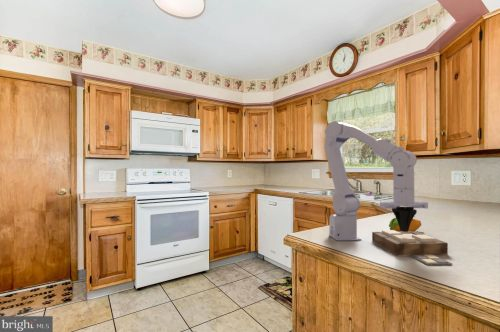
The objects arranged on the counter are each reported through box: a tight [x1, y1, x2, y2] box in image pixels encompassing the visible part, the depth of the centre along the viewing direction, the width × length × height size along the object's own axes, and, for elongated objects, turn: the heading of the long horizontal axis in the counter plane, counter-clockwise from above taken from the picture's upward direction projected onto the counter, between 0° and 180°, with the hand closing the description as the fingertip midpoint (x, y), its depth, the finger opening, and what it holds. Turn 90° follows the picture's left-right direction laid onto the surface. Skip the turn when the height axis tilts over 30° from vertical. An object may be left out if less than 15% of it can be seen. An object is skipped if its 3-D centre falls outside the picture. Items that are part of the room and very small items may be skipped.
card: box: [409, 255, 453, 267], centre depth 72 cm, size 7×7×1 cm
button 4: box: [412, 234, 436, 242], centre depth 81 cm, size 4×4×2 cm
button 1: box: [381, 229, 402, 237], centre depth 87 cm, size 4×4×2 cm
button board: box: [371, 230, 449, 256], centre depth 84 cm, size 16×14×4 cm
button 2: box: [393, 235, 415, 243], centre depth 80 cm, size 4×4×2 cm
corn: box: [388, 216, 422, 233], centre depth 101 cm, size 7×8×20 cm
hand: (404, 231), depth 80 cm, fingers closed
